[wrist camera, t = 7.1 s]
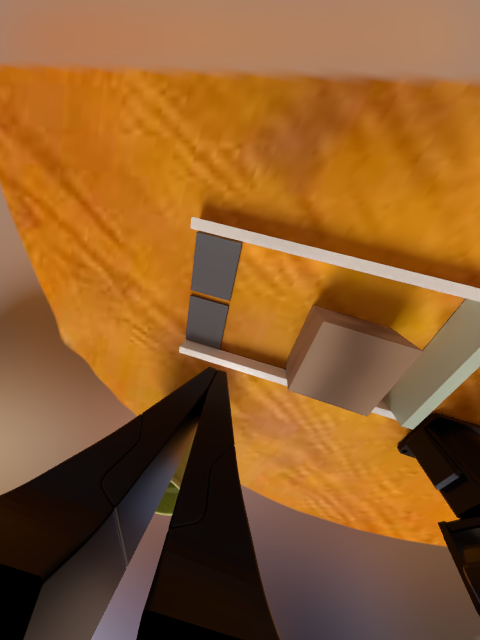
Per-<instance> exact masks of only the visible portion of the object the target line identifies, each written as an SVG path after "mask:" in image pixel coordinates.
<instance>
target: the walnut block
mask: <svg viewBox="0 0 480 640" xmlns="http://www.w3.org/2000/svg"><path fill="white" fill-rule="evenodd" d="M423 352H424V351H422V350H421V349H419V348H418V347H417V346H415V345H414V344H412V343H411V342H410V341H408V340H407V339H405V338H404V337H403V336H401V335H400V334H398V333H397V332H396V331H394V330H393V329H391V328H389V327H386V326H382V325H379V324H376V323H372V322H369V321H365V320H362V319H359V318H355V317H352V316H349V315H345V314H342V313H339V312H335V311H332V310H329V309H325V308H322V307H318V306H315V305H313V306H312V308H311V310H310V312H309V314H308V316H307V319H306V321H305V323H304V325H303V327H302V329H301V331H300V334H299V336H298V338H297V340H296V342H295V344H294V347H293V349H292V351H291V353H290V355H289V357H288V359H287V362H286V375H287V385H288V390H289V391H292V392H295V393H298V394H301V395H304V396H307V397H310V398H313V399H316V400H319V401H322V402H325V403H328V404H331V405H334V406H337V407H340V408H343V409H346V410H349V411H352V412H355V413H358V414H361V415H364V416H368V415H369V414H370V412H371V411H372V410H373V409H374V408H375V407H376V406H377V404H378V403H379V402H380V401H381V400H382V399H383V398H384V396H385V395H386V394H387V393H388V392H389V391H390V390H391V388H392V387H393V386H394V385H395V384H396V383H397V381H398V380H399V379H400V378H401V377H402V376H403V375H404V373H405V372H406V371H407V370H408V369H409V368H410V367H411V365H412V364H413V363H414V362H415V361H416V360H417V358H418V357H419V356H420V355H421V354H422V353H423Z"/></svg>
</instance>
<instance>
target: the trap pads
mask: <svg viewBox="0 0 480 640" xmlns="http://www.w3.org/2000/svg"><path fill="white" fill-rule="evenodd" d="M241 247H242V243H238V242H234V241H230V240H226V239H222V238H218V237H214V236H210V235H207V234H203V233H199V232H197V237H196V246H195V256H194V265H193V275H192V284H191V290H193V291H197V292H200V293H204V294H207V295H211V296H214V297H218V298H221V299H225V300H229V301H230V298H231V294H232V289H233V284H234V280H235V275H236V270H237V266H238V261H239V256H240V251H241ZM228 308H229V306H228V305H224V304H221V303H217V302H214V301H210V300H207V299H203V298H200V297H196V296H193V295H190V303H189V312H188V322H187V331H186V339H188V340H191V341H194V342H198V343H201V344H204V345H207V346H211V347H214V348H217V349H220V345H221V341H222V336H223V331H224V327H225V322H226V317H227V313H228Z"/></svg>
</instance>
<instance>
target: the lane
mask: <svg viewBox="0 0 480 640" xmlns="http://www.w3.org/2000/svg"><path fill="white" fill-rule="evenodd" d="M191 229H195V230H199V231H203V232H207V233H211V234H215V235H219V236H223V237H227V238H231V239H235V240H239V241H243V242H246V243H250V244H254V245H258V246H262V247H266V248H270V249H274V250H278V251H282V252H286V253H290V254H294V255H298V256H302V257H305V258H309V259H313V260H317V261H321V262H325V263H329V264H333V265H337V266H341V267H345V268H349V269H353V270H357V271H360V272H364V273H368V274H372V275H376V276H380V277H384V278H388V279H392V280H396V281H400V282H404V283H408V284H412V285H416V286H419V287H423V288H427V289H431V290H435V291H439V292H443V293H447V294H451V295H455V296H459V297H463V298H466V300H465V301H464V302H463V303H462V304H461V306H460V307H459V308H458V309H457V310H456V312H455V313H454V314H453V315H452V316H451V318H450V319H449V320H448V321H447V322H446V324H445V325H444V326H443V327H442V328H441V330H440V331H439V332H438V333H437V334H436V336H435V337H434V338H433V339H432V340H431V342H430V343H429V344H428V345H427V346H426V348H425V349H424V350H423V351H424V352H423V353H422V354H421V355H420V356H419V357H418V358H417V360H416V361H415V362H414V363H413V364H412V365H411V367H410V368H409V369H408V370H407V371H406V372H405V373H404V375H403V376H402V377H401V378H400V379H399V380H398V381H397V383H396V384H395V385H394V386H393V387H392V388H391V390H390V391H389V392H388V393H387V394H386V396H385V397H384V398H383V399H382V400H381V401H380V402H379V403H378V404H377V406H376V407H375V408H374V409H373V410H372V411H371V412H372V413H375V414H379V415H382V416H385V417H388V418H392V419H395V420H397V421H398V422H399V424H400V425H401V426H402V427H406V428H409V429H412V430H413V429H414V428H415V427H416V426H417V425H418V424H419V423H420V422H422V421H423V420H424V419H425V418H426V417H427V416H428V415H429V414H430V413H431V412H432V411H433V410H434V409H435V408H436V407H437V406H438V405H440V404H441V403H442V402H443V401H444V400H445V399H446V398H447V397H448V396H449V395H450V394H451V393H452V392H453V391H454V390H455V389H456V388H457V387H459V386H460V385H461V384H462V383H463V382H464V381H465V380H466V379H467V378H468V377H469V376H470V375H471V374H472V373H473V372H474V371H475V370H477V369H478V368H479V367H480V288H476V287H472V286H468V285H464V284H460V283H456V282H452V281H448V280H443V279H439V278H435V277H431V276H427V275H423V274H419V273H415V272H411V271H407V270H403V269H399V268H395V267H391V266H387V265H383V264H379V263H375V262H371V261H367V260H363V259H359V258H355V257H351V256H347V255H343V254H339V253H335V252H331V251H327V250H323V249H319V248H315V247H311V246H307V245H303V244H299V243H295V242H291V241H287V240H283V239H279V238H275V237H271V236H267V235H263V234H259V233H255V232H251V231H247V230H243V229H239V228H235V227H231V226H227V225H223V224H219V223H215V222H211V221H207V220H203V219H199V218H195V217H192V218H191ZM179 353H183V354H186V355H189V356H192V357H196V358H199V359H202V360H205V361H208V362H212V363H215V364H218V365H221V366H224V367H228V368H231V369H234V370H237V371H241V372H244V373H247V374H250V375H253V376H257V377H260V378H263V379H266V380H269V381H273V382H276V383H279V384H282V385H286V386H288V385H287V375H286V370H285V369H282V368H278V367H275V366H272V365H268V364H265V363H262V362H259V361H255V360H252V359H249V358H245V357H242V356H239V355H236V354H232V353H229V352H226V351H222V350H219V349H216V348H213V347H209V346H206V345H203V344H199V343H196V342H193V341H190V340H185V341H184V343H183V344H182V345H181V346H180V350H179Z"/></svg>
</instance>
